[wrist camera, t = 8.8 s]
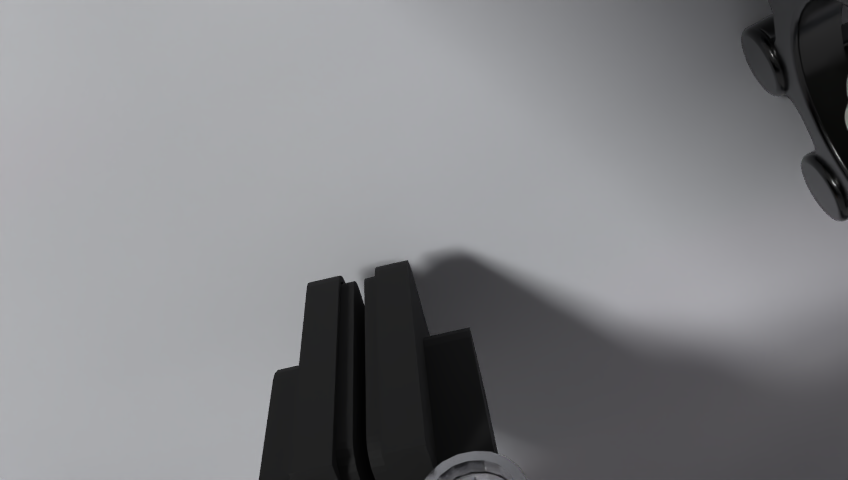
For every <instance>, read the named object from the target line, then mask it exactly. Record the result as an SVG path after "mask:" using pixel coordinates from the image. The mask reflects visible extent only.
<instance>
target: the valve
mask: <svg viewBox="0 0 848 480" xmlns="http://www.w3.org/2000/svg"><path fill="white" fill-rule="evenodd" d="M768 1H769V3H770V6H771V9H772V13H773V14H771V15H770V16H768V17H766V18H764V19H762V20H760V21H759V22H757V23H755V24H753V25H751V26H749V27H748V28H746V29H745V30H744V31H743V33H742V37H741V43H742V48H743V51H744V54H745V57H746V60H747V63H748V65H749V67H750V69H751V71H752V73H753V74H754V76H755V77H756V79H757V80H758V82H759V83H760V84H761V86H762V87H763V88H764V89H765V90H766V91H767V92H768V93H770V94H771V95H773V96H777V97H779V96H783V95H785V94H786V95H787V96H788V97H789V98H790V100H791V101H792V102H793V104H794V105H795V107H796V108H797V110H798V112H799V113H800V115H801V117H802V119H803V122H804V124H805V126H806V128H807V130H808V132H809V134H810V136H811V138H812V141H813V143H814V146H815V151H813V152H811V153H809V154H807V155H805V156H804V157H803V159H802V162H801V169H802V173H803V176H804V179H805V182H806V184H807V186H808V188H809V190H810V192H811V194H812V195H813V197H814V199H815V200H816V202H817V203H818V204H819V206H820V207H821V208H822V209H823V211H824V212H825V213H826V214H827V215H828V216H830V217H831V218H832V219H834V220H836V221H846V220H848V22H847V23H845V24H843V25H841V13H842V5H843V4H845V5H846V6H848V0H768Z"/></svg>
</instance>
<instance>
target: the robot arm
mask: <svg viewBox="0 0 848 480" xmlns="http://www.w3.org/2000/svg"><path fill="white" fill-rule="evenodd" d="M364 293H365V306H364V303H363V299H362V296H361V293H360V290H359V288H358V285H357V283H356V282H355V281H354V282H349V283H345V281H344V279H343V277H342V276H336V277H332V278H328V279H323V280H319V281H314V282H310V283H308V285H307V292H306V302H305V312H304V322H303V332H302V341H301V351H300V361H299V366H294V367H290V368H285V369H281V370H277V372H276V373H275V375H274V379H273V385H272V392H271V399H270V406H269V413H268V420H267V427H266V434H265V441H264V448H263V455H262V462H261V469H260V476H259V480H528V479H527V477H526V476H525V474H524V473H523V472H522V470H521V469H520V467H519V466H518V465H517V464H516V463H514V462H513V461H511V460H510V459H509V458H507V457H505V456H502V455H499V454H498V452H497V447H496V442H495V437H494V432H493V428H492V423H491V418H490V413H489V409H488V404H487V399H486V395H485V390H484V386H483V381H482V377H481V373H480V368H479V364H478V360H477V356H476V352H475V348H474V343H473V339H472V335H471V331H470V328H465V329H461V330H456V331H452V332H447V333H443V334H438V335H434V336H430V335H429V331H428V328H427V324H426V321H425V317H424V314H423V310H422V306H421V303H420V299H419V296H418V292H417V289H416V285H415V281H414V278H413V274H412V271H411V267H410V264H409V262H408V260H407V261H402V262H398V263H393V264H389V265H385V266H380V267H376V268H375V277H371V278H367V279H365V281H364Z"/></svg>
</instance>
